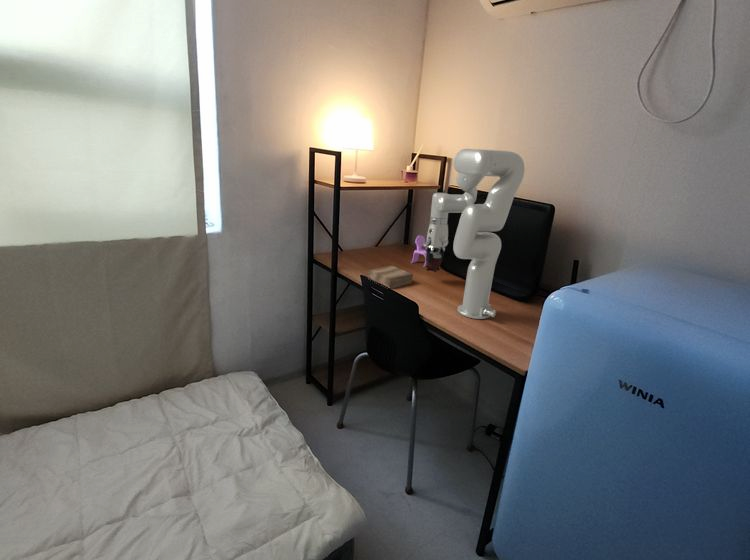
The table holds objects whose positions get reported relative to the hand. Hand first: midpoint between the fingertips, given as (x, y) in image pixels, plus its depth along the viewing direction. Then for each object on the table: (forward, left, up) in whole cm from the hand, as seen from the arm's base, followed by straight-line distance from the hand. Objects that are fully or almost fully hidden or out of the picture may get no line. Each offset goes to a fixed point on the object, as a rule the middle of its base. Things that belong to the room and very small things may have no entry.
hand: (434, 260), depth 186 cm
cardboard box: (+12, +16, -11) cm, 23 cm away
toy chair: (+23, -18, -11) cm, 31 cm away
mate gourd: (0, 0, -5) cm, 5 cm away
